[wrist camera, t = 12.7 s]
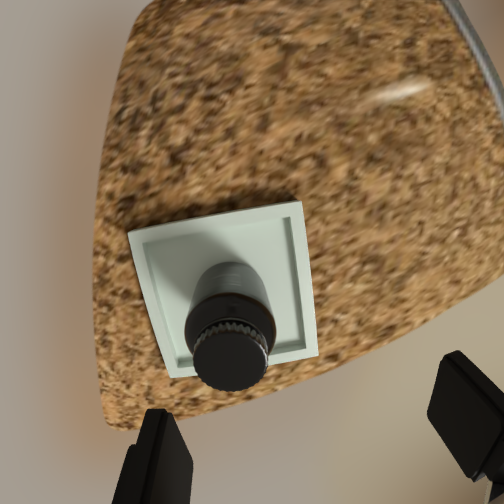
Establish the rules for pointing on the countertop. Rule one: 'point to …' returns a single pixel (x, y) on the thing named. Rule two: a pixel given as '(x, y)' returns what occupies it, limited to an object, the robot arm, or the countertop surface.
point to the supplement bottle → (230, 327)
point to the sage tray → (228, 250)
